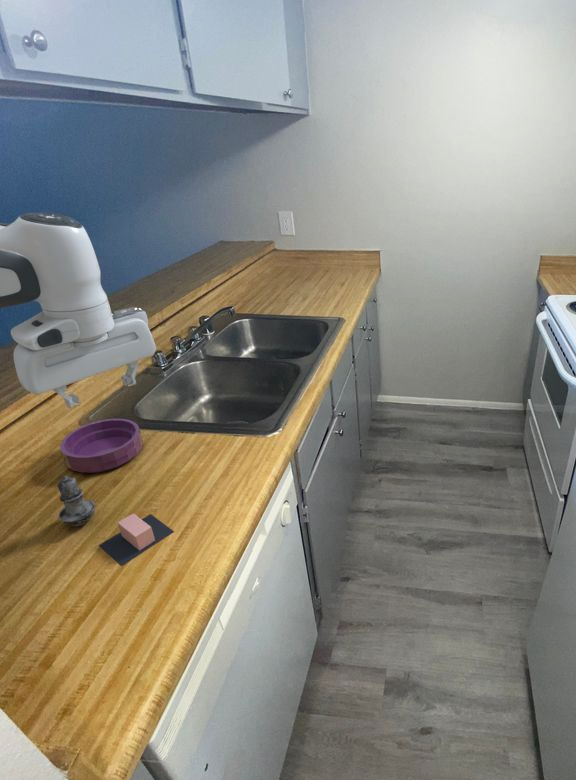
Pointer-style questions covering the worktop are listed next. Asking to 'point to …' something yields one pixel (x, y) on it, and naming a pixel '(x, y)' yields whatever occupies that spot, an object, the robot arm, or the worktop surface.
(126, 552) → the mat
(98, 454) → the bowl
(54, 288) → the robot arm
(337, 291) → the worktop surface
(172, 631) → the worktop surface
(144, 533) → the eraser
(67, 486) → the grey stone finial
